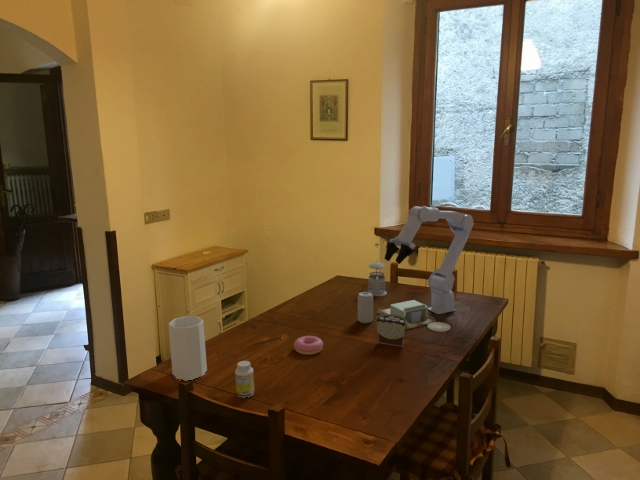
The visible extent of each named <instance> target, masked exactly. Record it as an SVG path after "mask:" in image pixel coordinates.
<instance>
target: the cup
mask: <svg viewBox="0 0 640 480" xmlns="http://www.w3.org/2000/svg"><path fill="white" fill-rule="evenodd" d="M204 323H205V322H204V320H203V319H202V318H201V317H200V316H195V315H185V316H180V317H176V318H173V319H172V320H171V321H170V322H168V339H169V346H170V347H169V348H170V350H169V351H170V358H171V372H172V376H173V375H174V376H175V377H176V378H177V379H183V380H184V381H185V382H189V381H188V380H192V381H194V380H193V379H195V378H198V377H201V376H203V375H204V376H205V375H206V373H207V372H208V367H207V366H208V365H207V354H206V353H207V351H206V337H205V324H204ZM206 371H207V372H206ZM205 372H206V373H205ZM174 376H173V377H174ZM204 376H203V377H204ZM175 377H174V378H175ZM176 378H175V379H176ZM201 378H202V377H201ZM177 379H176V380H177ZM198 379H199V378H198ZM195 380H196V379H195Z"/></svg>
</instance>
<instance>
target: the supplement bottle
mask: <svg viewBox="0 0 640 480" xmlns="http://www.w3.org/2000/svg"><path fill="white" fill-rule="evenodd" d="M236 366H237V367H236V369H235V372H234V375H235V388H236V389H235V391H236V392H235V393H236V396H237V397H238V398H241V397H242V398H241V399H246V398H245V397H248V398H251V397H252V396H254V394H255V392H256V391H255V372H254V368H253V367H252V365H251V362H250V361H248V360H242V361H239V362H237V363H236ZM250 396H251V397H250Z"/></svg>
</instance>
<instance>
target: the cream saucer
mask: <svg viewBox="0 0 640 480" xmlns="http://www.w3.org/2000/svg"><path fill="white" fill-rule="evenodd" d="M427 329H429V330H430V331H432V332H435V333H436V332H437V333H445V332H449V331H450V330H451V325H450V324H448V323H446V322H442V321H441V322H440V321H436V322H433V323H429V324H427Z"/></svg>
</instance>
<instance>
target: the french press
mask: <svg viewBox="0 0 640 480" xmlns="http://www.w3.org/2000/svg"><path fill="white" fill-rule="evenodd" d="M374 246H375V247H378V246H380V244H379V243H378V242H376V243H375V244H374ZM368 268H370V269H374V270H378V271H372V272H370V273H369V276H368V291H367V292H369V293H372V296H373V297H382V296H383V297H384V296H385V295H387V293H388V292H387V291H386V276H385V273H384V272H381V271H380V270H381V269H385V268H386V265H385V264H384V263H382V262H378V261H376V262H372V263H370V264H369V265H368Z"/></svg>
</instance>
